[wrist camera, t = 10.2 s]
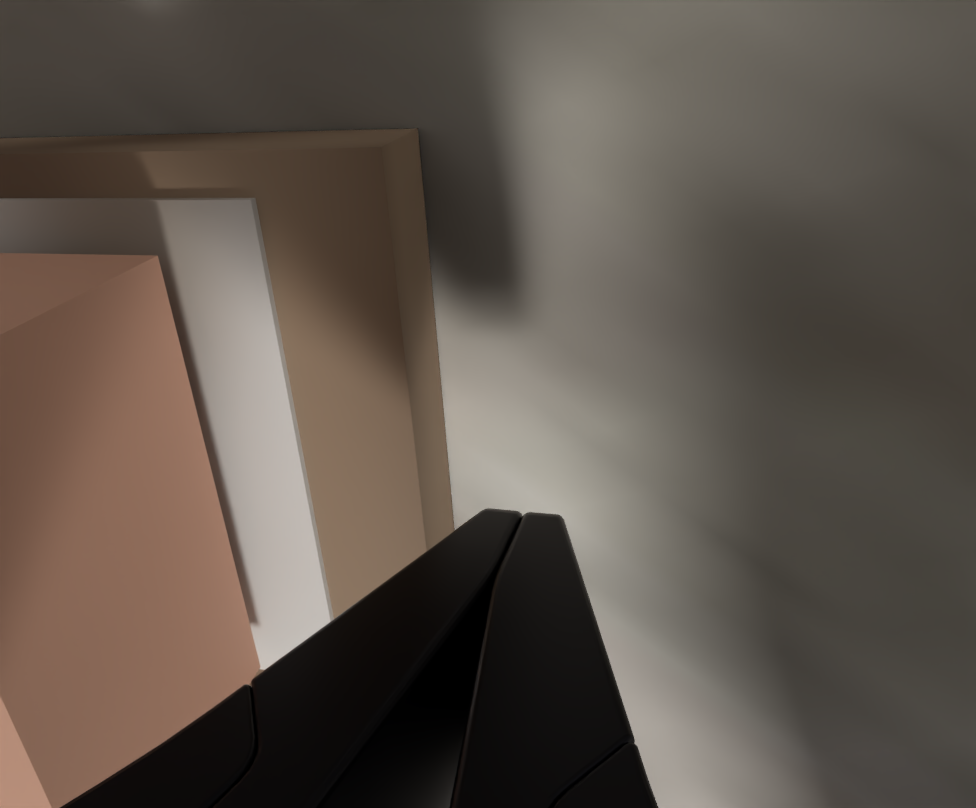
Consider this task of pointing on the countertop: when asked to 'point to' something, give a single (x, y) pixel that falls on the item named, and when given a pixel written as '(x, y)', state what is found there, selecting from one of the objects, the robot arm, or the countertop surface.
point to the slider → (103, 530)
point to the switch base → (277, 337)
